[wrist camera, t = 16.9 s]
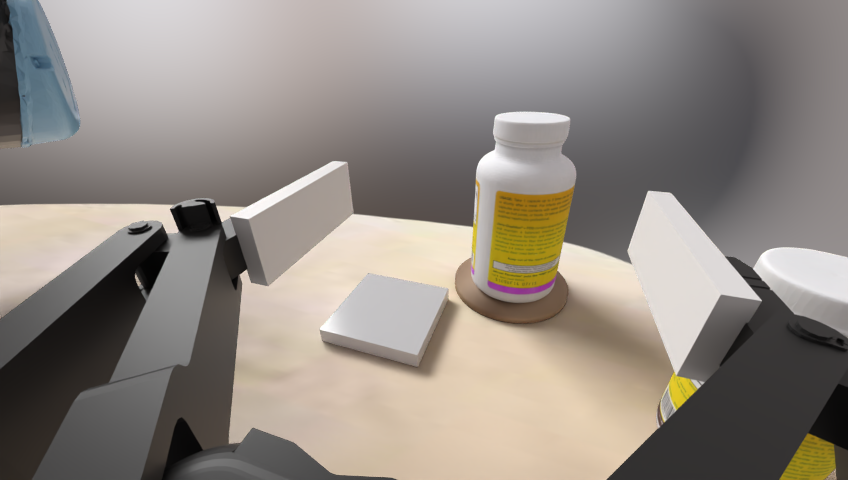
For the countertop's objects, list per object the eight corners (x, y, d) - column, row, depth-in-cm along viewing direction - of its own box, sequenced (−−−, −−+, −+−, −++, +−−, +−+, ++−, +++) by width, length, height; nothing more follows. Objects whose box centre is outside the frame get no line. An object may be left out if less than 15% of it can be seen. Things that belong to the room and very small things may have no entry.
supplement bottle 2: (823, 480, 15) (1008, 298, 10) (757, 546, 13) (948, 359, 8) (692, 384, 20) (778, 226, 15) (627, 423, 18) (702, 254, 13)
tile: (319, 329, 23) (417, 355, 21) (368, 273, 28) (448, 288, 26) (323, 345, 23) (417, 372, 21) (369, 287, 29) (448, 303, 27)
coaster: (443, 309, 26) (443, 303, 25) (467, 251, 33) (467, 246, 33) (569, 334, 23) (571, 328, 23) (564, 265, 31) (565, 260, 30)
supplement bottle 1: (572, 292, 26) (614, 119, 20) (502, 317, 24) (526, 131, 18) (516, 252, 32) (536, 106, 25) (455, 270, 29) (460, 113, 23)
